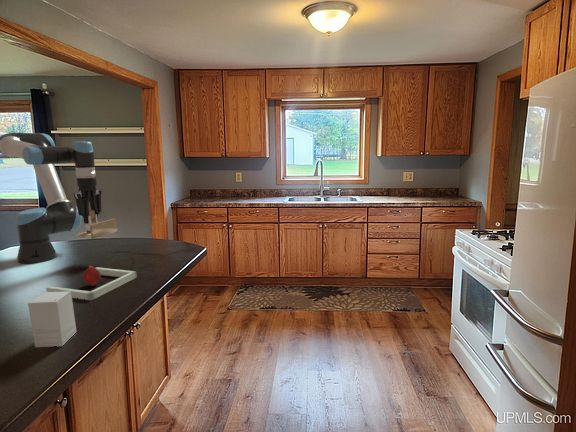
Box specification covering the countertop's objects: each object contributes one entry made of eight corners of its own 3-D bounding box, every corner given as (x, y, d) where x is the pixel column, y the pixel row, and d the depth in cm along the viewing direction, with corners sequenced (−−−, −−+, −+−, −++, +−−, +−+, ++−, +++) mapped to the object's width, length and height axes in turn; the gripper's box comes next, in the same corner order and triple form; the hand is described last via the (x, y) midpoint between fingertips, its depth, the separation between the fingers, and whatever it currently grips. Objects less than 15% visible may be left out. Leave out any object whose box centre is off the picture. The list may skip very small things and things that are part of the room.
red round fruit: (88, 282, 140) (86, 263, 138) (104, 282, 140) (101, 262, 139) (81, 288, 134) (78, 268, 133) (97, 288, 134) (94, 267, 133)
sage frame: (47, 294, 129) (46, 287, 129) (97, 273, 151) (96, 267, 150) (91, 300, 124) (90, 293, 123) (136, 277, 145) (136, 271, 145)
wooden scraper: (73, 237, 158) (69, 212, 156) (97, 230, 171) (95, 207, 169) (93, 238, 155) (90, 213, 153) (117, 231, 168) (114, 207, 166)
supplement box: (77, 332, 102) (72, 290, 100) (62, 347, 95) (56, 302, 92) (50, 333, 102) (45, 291, 99) (33, 347, 95) (26, 302, 92)
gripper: (77, 178, 150) (84, 233, 155) (107, 175, 165) (112, 226, 170) (63, 178, 152) (70, 232, 157) (93, 175, 168) (99, 225, 172)
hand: (92, 229), depth 163 cm, fingers closed on wooden scraper, 3 cm apart
